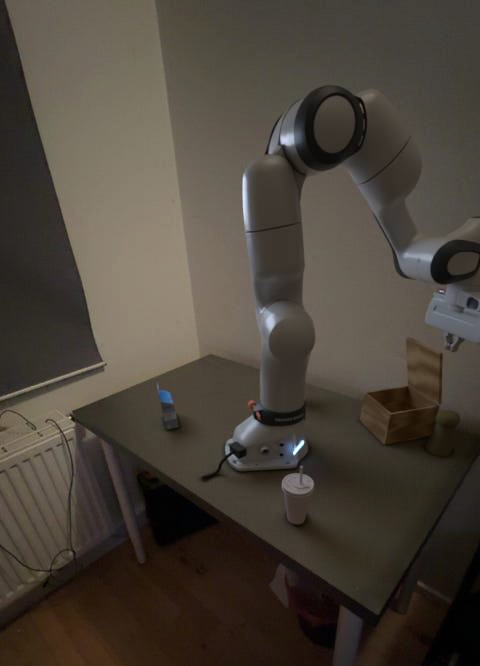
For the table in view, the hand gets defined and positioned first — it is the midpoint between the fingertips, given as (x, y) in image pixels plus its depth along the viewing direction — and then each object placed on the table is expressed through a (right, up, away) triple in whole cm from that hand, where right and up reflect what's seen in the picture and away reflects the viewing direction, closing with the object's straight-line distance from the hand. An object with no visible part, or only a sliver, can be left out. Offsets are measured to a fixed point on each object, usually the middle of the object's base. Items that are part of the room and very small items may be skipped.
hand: (450, 350), depth 91 cm
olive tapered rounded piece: (-3, -26, +1) cm, 26 cm away
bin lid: (-7, -5, +1) cm, 9 cm away
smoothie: (-43, -39, -17) cm, 61 cm away
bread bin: (-10, -20, +10) cm, 25 cm away
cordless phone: (-77, -19, +19) cm, 81 cm away
